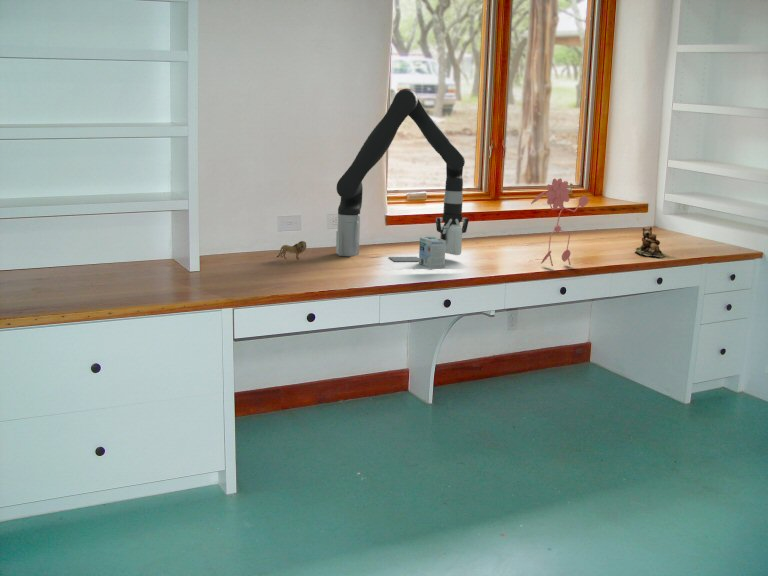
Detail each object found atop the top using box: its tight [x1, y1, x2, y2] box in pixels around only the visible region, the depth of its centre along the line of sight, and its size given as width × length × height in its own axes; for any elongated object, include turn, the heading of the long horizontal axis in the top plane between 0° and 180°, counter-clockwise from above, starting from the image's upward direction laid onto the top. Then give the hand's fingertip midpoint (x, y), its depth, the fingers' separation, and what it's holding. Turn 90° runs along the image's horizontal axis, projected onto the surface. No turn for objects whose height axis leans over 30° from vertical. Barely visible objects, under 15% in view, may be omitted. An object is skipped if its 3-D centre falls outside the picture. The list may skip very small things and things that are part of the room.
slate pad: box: [388, 256, 419, 263], centre depth 368 cm, size 12×10×1 cm
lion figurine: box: [276, 240, 307, 261], centre depth 361 cm, size 12×4×7 cm, turn 93°
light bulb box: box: [418, 236, 446, 269], centre depth 357 cm, size 11×7×11 cm, turn 23°
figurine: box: [528, 177, 589, 267], centre depth 369 cm, size 15×26×35 cm, turn 118°
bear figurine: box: [634, 226, 666, 258], centre depth 403 cm, size 14×15×12 cm
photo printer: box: [439, 224, 463, 256], centre depth 371 cm, size 10×4×12 cm, turn 39°
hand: (450, 242), depth 371 cm, fingers closed on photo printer, 5 cm apart
